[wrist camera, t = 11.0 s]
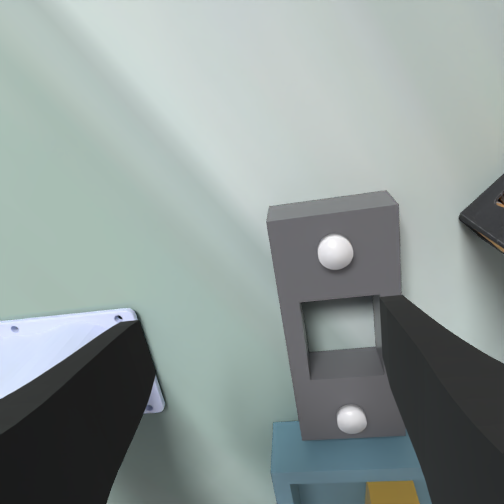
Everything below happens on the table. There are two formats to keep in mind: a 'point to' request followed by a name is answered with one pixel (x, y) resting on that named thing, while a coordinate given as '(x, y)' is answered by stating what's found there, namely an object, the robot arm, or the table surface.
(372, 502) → the block
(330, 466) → the parts tray
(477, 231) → the ammunition clip
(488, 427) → the robot arm
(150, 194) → the table surface
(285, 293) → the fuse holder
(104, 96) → the table surface
